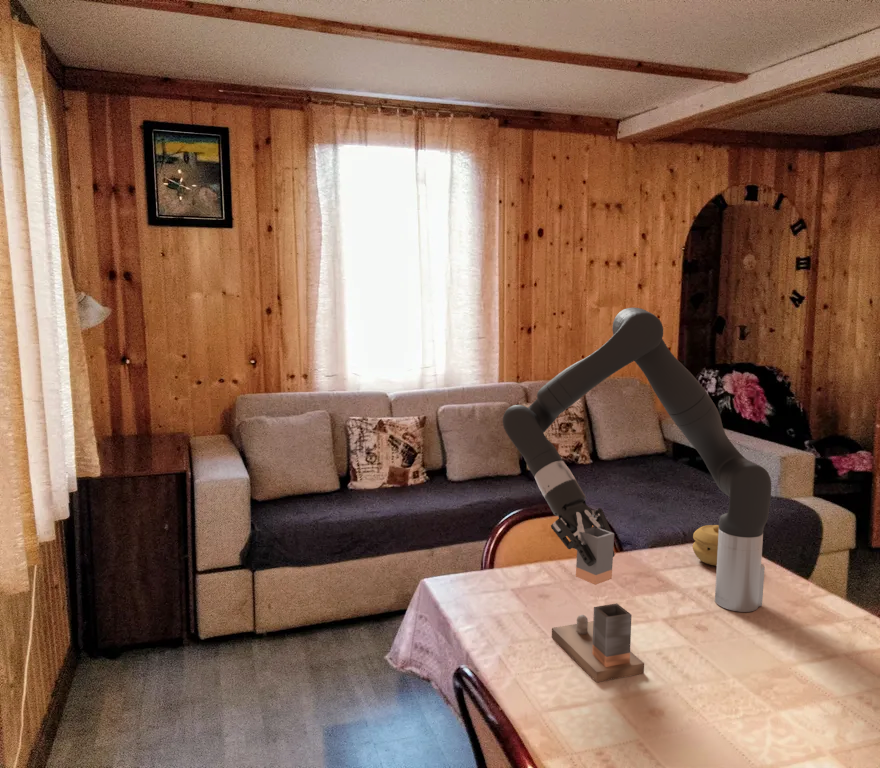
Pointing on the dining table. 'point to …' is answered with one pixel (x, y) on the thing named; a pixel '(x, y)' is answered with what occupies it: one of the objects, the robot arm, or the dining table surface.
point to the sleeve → (597, 556)
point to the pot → (706, 544)
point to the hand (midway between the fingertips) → (602, 560)
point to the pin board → (601, 643)
